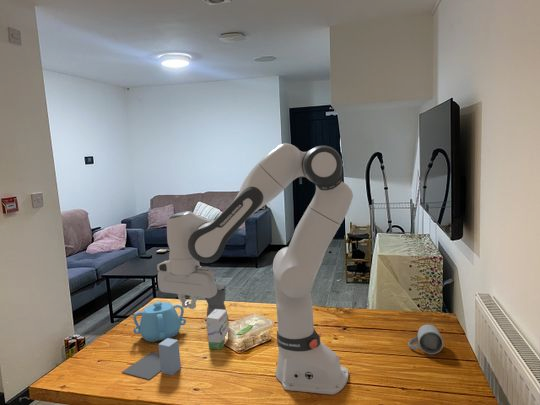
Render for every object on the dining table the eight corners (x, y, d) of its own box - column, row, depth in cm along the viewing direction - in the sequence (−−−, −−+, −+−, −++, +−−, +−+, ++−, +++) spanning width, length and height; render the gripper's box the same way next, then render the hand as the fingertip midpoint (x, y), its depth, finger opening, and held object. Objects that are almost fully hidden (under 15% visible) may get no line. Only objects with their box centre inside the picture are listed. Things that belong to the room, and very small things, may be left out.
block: (181, 368, 136) (178, 340, 135) (172, 375, 133) (169, 346, 131) (170, 365, 139) (167, 337, 137) (161, 372, 135) (158, 344, 133)
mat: (177, 358, 143) (177, 357, 143) (149, 380, 131) (149, 379, 131) (151, 352, 148) (151, 351, 148) (121, 372, 136) (121, 371, 136)
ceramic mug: (439, 342, 142) (438, 321, 141) (443, 355, 134) (443, 332, 133) (407, 342, 144) (406, 321, 143) (409, 353, 136) (408, 332, 135)
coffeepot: (236, 320, 170) (232, 279, 168) (218, 329, 164) (214, 285, 161) (213, 311, 181) (210, 272, 179) (196, 319, 175) (192, 278, 172)
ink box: (221, 350, 147) (218, 318, 145) (208, 348, 148) (205, 318, 147) (229, 338, 155) (227, 309, 153) (217, 337, 156) (215, 308, 155)
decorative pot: (163, 323, 173) (159, 292, 171) (190, 330, 164) (187, 298, 162) (131, 340, 160) (126, 306, 158) (159, 349, 151) (155, 313, 149)
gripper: (219, 264, 124) (222, 307, 126) (166, 259, 133) (170, 300, 135) (206, 270, 118) (210, 316, 120) (152, 265, 127) (157, 307, 129)
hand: (189, 307), depth 128 cm, fingers closed
